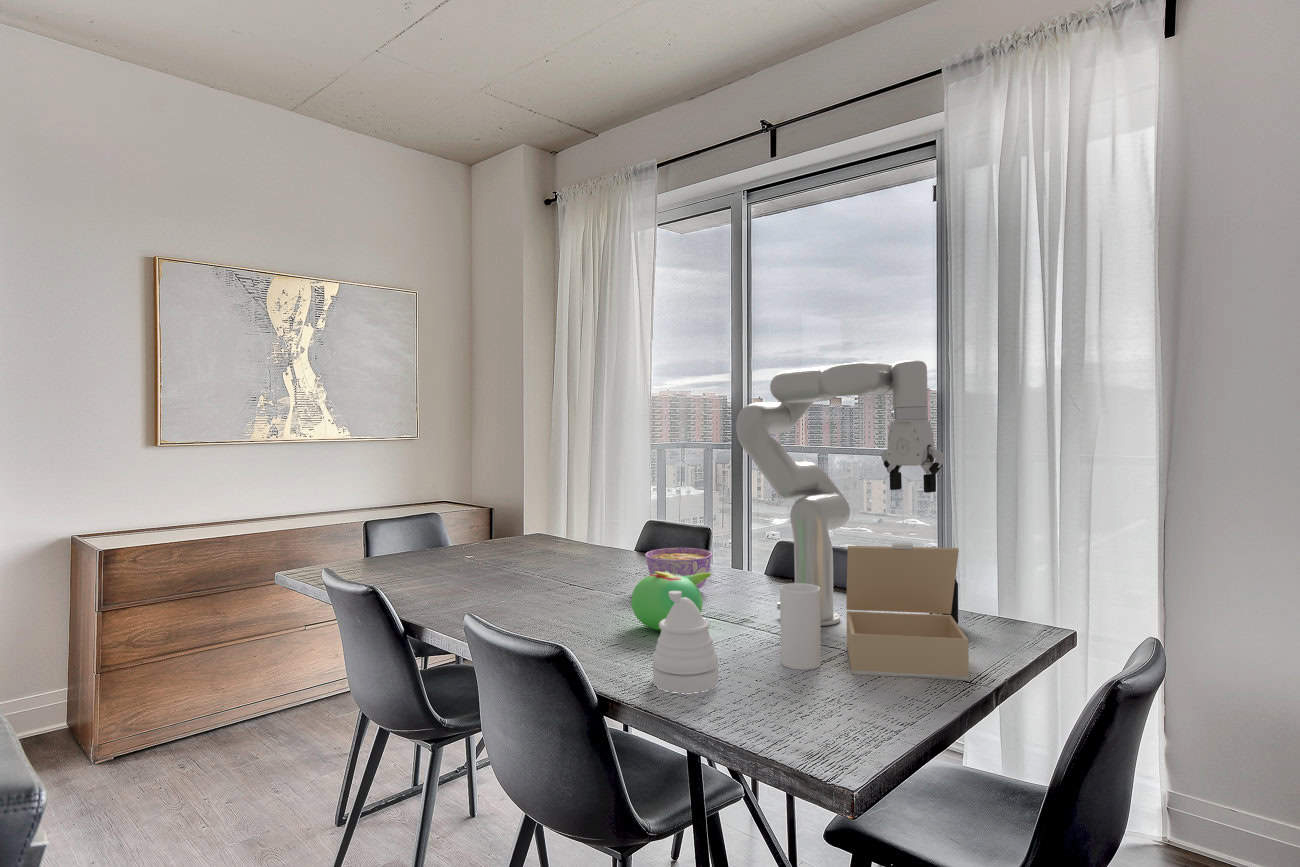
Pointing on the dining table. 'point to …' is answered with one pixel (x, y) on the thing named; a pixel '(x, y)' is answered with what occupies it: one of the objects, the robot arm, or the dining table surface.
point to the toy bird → (663, 595)
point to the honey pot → (684, 650)
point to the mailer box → (907, 645)
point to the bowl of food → (679, 561)
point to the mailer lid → (901, 578)
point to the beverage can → (953, 604)
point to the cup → (800, 626)
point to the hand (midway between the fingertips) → (912, 490)
